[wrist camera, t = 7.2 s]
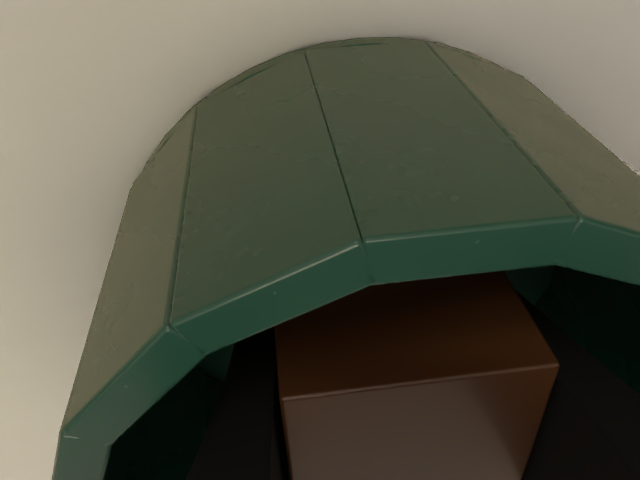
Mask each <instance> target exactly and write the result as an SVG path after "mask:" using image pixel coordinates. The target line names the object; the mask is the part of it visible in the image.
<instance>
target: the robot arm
mask: <svg viewBox="0 0 640 480" xmlns="http://www.w3.org/2000/svg"><path fill="white" fill-rule="evenodd" d="M516 292H517V291H516ZM517 294H518V295H519V297H520V299H521V300H522V302H523V304H524V305H525V307H526V309H527V310H528V312H529V314H530V315H531V317H532V319H533V320H534V322H535V324H536V325H537V327H538V328H539V330H540V332H541V333H542V335H543V337H544V338H545V340H546V342H547V343H548V345H549V347H550V348H551V350H552V352H553V353H554V355H555V357H556V358H557V360H558V362H559V365H560V367H559V370H558V373H557V376H556V379H555V382H554V385H553V388H552V391H551V394H550V397H549V400H548V403H547V406H546V409H545V412H544V415H543V418H542V421H541V424H540V427H539V430H538V433H537V436H536V439H535V442H534V445H533V447H532V450H531V453H530V456H529V459H528V462H527V465H526V468H525V471H524V474H523V477H522V480H640V394H639V393H638V392H636V391H635V390H634V389H632V388H631V387H630V386H629V385H627V384H626V383H625V382H624V381H622V380H621V379H620V378H618V377H617V376H616V375H615V374H613V373H612V372H611V371H610V370H608V369H607V368H606V367H605V366H604V365H602V364H601V363H600V362H599V361H598V360H596V359H595V358H594V357H593V356H591V355H590V354H589V353H588V352H587V351H585V350H584V349H583V348H582V347H581V346H580V345H578V344H577V343H576V342H575V341H574V340H573V339H571V338H570V337H569V336H568V335H567V334H566V333H564V332H563V331H562V330H561V329H560V328H559V327H558V326H556V325H555V324H554V323H553V322H552V321H551V320H550V319H548V318H547V317H546V316H545V315H544V314H543V313H542V312H540V311H539V310H538V309H537V308H536V307H535V306H534V305H532V304H531V303H530V302H529V301H528V300H527V299H526V298H524V297H523V296H522V295H521V294H520V293H519V292H517ZM186 480H288V462H287V455H286V447H285V439H284V432H283V424H282V416H281V409H280V401H279V389H278V376H277V363H276V350H275V337H274V327H272V328H270V329H267V330H265V331H263V332H260V333H258V334H255V335H253V336H251V337H248V338H246V339H244V340H241V341H239V342H237V343H234V348H233V352H232V356H231V360H230V364H229V367H228V371H227V374H226V377H225V381H224V384H223V387H222V390H221V393H220V396H219V398H218V401H217V404H216V407H215V410H214V412H213V415H212V418H211V421H210V423H209V426H208V429H207V431H206V433H205V436H204V438H203V441H202V443H201V445H200V448H199V450H198V452H197V455H196V457H195V459H194V462H193V464H192V466H191V469H190V471H189V473H188V476H187V478H186Z"/></svg>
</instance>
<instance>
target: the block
mask: <svg viewBox="0 0 640 480" xmlns="http://www.w3.org/2000/svg"><path fill="white" fill-rule="evenodd" d="M274 337H275V350H276V363H277V376H278V389H279V401H280V409H281V416H282V424H283V432H284V439H285V447H286V455H287V462H288V470H289V478H290V480H522V477H523V474H524V471H525V468H526V465H527V462H528V459H529V456H530V453H531V450H532V447H533V445H534V442H535V439H536V436H537V433H538V430H539V427H540V424H541V421H542V418H543V415H544V412H545V409H546V406H547V403H548V400H549V397H550V394H551V391H552V388H553V385H554V382H555V379H556V376H557V373H558V370H559V367H560V365H559V362H558V360H557V358H556V357H555V355H554V353H553V352H552V350H551V348H550V347H549V345H548V343H547V342H546V340H545V338H544V337H543V335H542V333H541V332H540V330H539V328H538V327H537V325H536V324H535V322H534V320H533V319H532V317H531V315H530V314H529V312H528V310H527V309H526V307H525V305H524V304H523V302H522V300H521V299H520V297H519V295H518V294H517V292H516V290H515V289H514V287H513V286H512V284H511V282H510V281H509V279H508V277H507V276H506V274H505V272H504V271H497V272H488V273H479V274H470V275H461V276H452V277H443V278H434V279H425V280H416V281H407V282H398V283H389V284H380V285H371V286H369V287H367V288H364V289H362V290H360V291H357V292H355V293H353V294H350V295H348V296H345V297H343V298H341V299H338V300H336V301H334V302H331V303H329V304H326V305H324V306H322V307H319V308H317V309H315V310H312V311H310V312H308V313H305V314H303V315H300V316H298V317H296V318H293V319H291V320H289V321H286V322H284V323H282V324H279V325H277V326H274Z"/></svg>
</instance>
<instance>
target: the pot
mask: <svg viewBox="0 0 640 480" xmlns="http://www.w3.org/2000/svg"><path fill="white" fill-rule="evenodd" d="M497 271H504V272H505V274H506V276H507V277H508V279H509V281H510V282H511V284H512V286H513V287H514V289H515V290H516V291H517V292H519V293H520V294H521V295H522V296H523V297H524V298H526V299H527V300H528V301H529V302H530V303H531V304H532V305H534V306H535V307H536V308H537V309H538V310H539V311H540V312H542V313H543V314H544V315H545V316H546V317H547V318H548V319H550V320H551V321H552V322H553V323H554V324H555V325H556V326H558V327H559V328H560V329H561V330H562V331H563V332H564V333H566V334H567V335H568V336H569V337H570V338H571V339H573V340H574V341H575V342H576V343H577V344H578V345H580V346H581V347H582V348H583V349H584V350H585V351H587V352H588V353H589V354H590V355H591V356H593V357H594V358H595V359H596V360H598V361H599V362H600V363H601V364H602V365H604V366H605V367H606V368H607V369H608V370H610V371H611V372H612V373H613V374H615V375H616V376H617V377H618V378H620V379H621V380H622V381H624V382H625V383H626V384H627V385H629V386H630V387H631V388H632V389H634V390H635V391H636V392H638V393H639V394H640V177H639V176H638V175H637V174H636V173H635V172H634V171H633V170H631V169H630V168H629V167H628V166H627V165H626V164H624V163H623V162H622V161H621V160H620V159H619V158H617V157H616V156H615V155H614V154H613V153H612V152H611V151H609V150H608V149H607V148H606V147H605V146H604V145H602V144H601V143H600V142H599V141H598V140H597V139H595V138H594V137H593V136H592V135H591V134H590V133H589V132H587V131H586V130H585V129H584V128H583V127H582V126H580V125H579V124H578V123H577V122H576V121H575V120H573V119H572V118H571V117H570V116H569V115H568V114H567V113H565V112H564V111H563V110H562V109H561V108H560V107H558V106H557V105H556V104H555V103H554V102H553V101H551V100H550V99H549V98H548V97H547V96H546V95H545V94H543V93H542V92H541V91H540V90H539V89H538V88H536V87H535V86H534V85H533V84H532V83H531V82H529V81H528V80H526V79H525V78H524V77H523V76H521V75H518V74H515V73H513V72H510V71H507V70H505V69H503V68H502V67H500V66H499V65H496V64H494V63H492V62H490V61H488V60H485V59H483V58H481V57H479V56H477V55H475V54H472V53H470V52H467V51H464V50H460V49H457V48H453V47H450V46H446V45H443V44H439V43H436V42H428V41H421V40H413V39H406V38H357V39H350V40H343V41H336V42H329V43H322V44H319V45H315V46H312V47H308V48H304V49H301V50H297V51H294V52H290V53H287V54H284V55H281V56H279V57H277V58H274V59H272V60H270V61H267V62H265V63H263V64H260V65H258V66H256V67H253V68H251V69H249V70H247V71H245V72H244V73H242V74H240V75H239V76H237V77H235V78H234V79H232V80H230V81H229V82H227V83H225V84H224V85H222V86H220V87H219V88H217V89H216V90H214V91H213V92H212V93H211V94H209V95H208V96H207V97H206V98H204V99H203V100H202V101H201V102H199V103H198V104H197V105H196V106H194V107H193V108H192V109H191V110H189V111H188V112H187V113H186V114H185V116H184V117H183V118H182V119H181V120H180V121H179V122H178V123H177V124H176V125H175V126H174V127H173V128H172V129H171V130H170V132H169V133H168V134H167V135H166V136H165V137H164V138H163V140H162V141H161V143H160V144H159V146H158V147H157V149H156V150H155V152H154V153H153V154H152V156H151V157H150V159H149V160H148V162H147V163H146V165H145V167H144V169H143V171H142V173H141V174H140V175H139V176H138V178H137V179H136V180H135V181H134V183H133V185H132V188H131V189H130V192H129V195H128V199H127V202H126V206H125V209H124V213H123V216H122V220H121V223H120V226H119V230H118V233H117V237H116V240H115V244H114V247H113V250H112V254H111V257H110V261H109V264H108V268H107V271H106V274H105V278H104V281H103V285H102V288H101V292H100V295H99V299H98V302H97V305H96V309H95V312H94V316H93V319H92V323H91V326H90V329H89V333H88V336H87V340H86V343H85V347H84V350H83V353H82V357H81V360H80V364H79V367H78V371H77V374H76V378H75V381H74V384H73V388H72V391H71V395H70V398H69V402H68V405H67V408H66V412H65V415H64V419H63V422H62V426H61V429H60V432H59V438H58V444H57V451H56V457H55V463H54V469H53V475H52V480H186V478H187V476H188V473H189V471H190V469H191V466H192V464H193V462H194V459H195V457H196V455H197V452H198V450H199V448H200V445H201V443H202V441H203V438H204V436H205V433H206V431H207V429H208V426H209V423H210V421H211V418H212V415H213V412H214V410H215V407H216V404H217V401H218V398H219V396H220V393H221V390H222V387H223V384H224V381H225V377H226V374H227V371H228V367H229V364H230V360H231V356H232V352H233V348H234V343H237V342H239V341H241V340H244V339H246V338H248V337H251V336H253V335H255V334H258V333H260V332H263V331H265V330H267V329H270V328H272V327H274V326H277V325H279V324H282V323H284V322H286V321H289V320H291V319H293V318H296V317H298V316H300V315H303V314H305V313H308V312H310V311H312V310H315V309H317V308H319V307H322V306H324V305H326V304H329V303H331V302H334V301H336V300H338V299H341V298H343V297H345V296H348V295H350V294H353V293H355V292H357V291H360V290H362V289H364V288H367V287H369V286H371V285H380V284H389V283H398V282H407V281H416V280H425V279H434V278H443V277H452V276H461V275H470V274H479V273H488V272H497ZM288 480H290V478H289V470H288Z"/></svg>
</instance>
